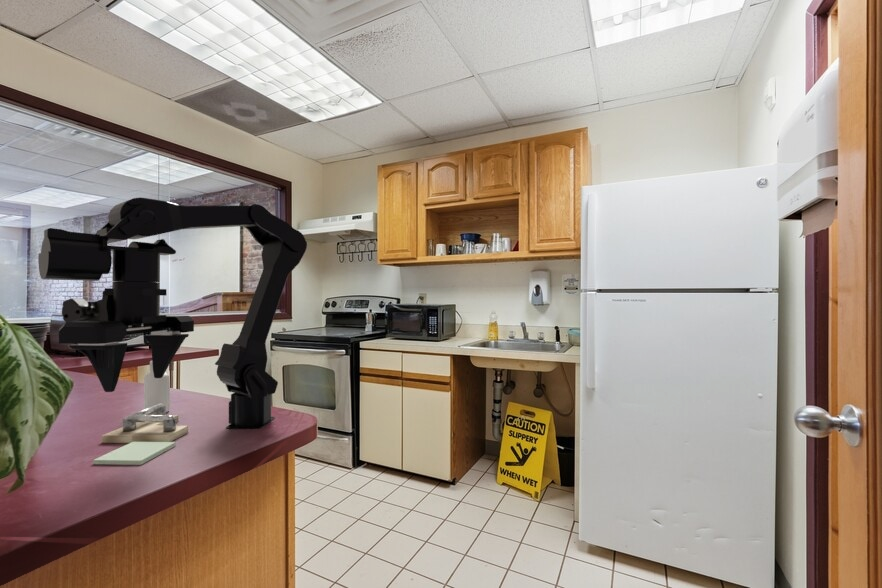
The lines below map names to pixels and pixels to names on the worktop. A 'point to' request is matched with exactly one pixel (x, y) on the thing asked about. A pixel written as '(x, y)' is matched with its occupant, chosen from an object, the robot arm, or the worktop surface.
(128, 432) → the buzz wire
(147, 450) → the pad
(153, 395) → the eye dropper bottle
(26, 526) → the worktop surface
